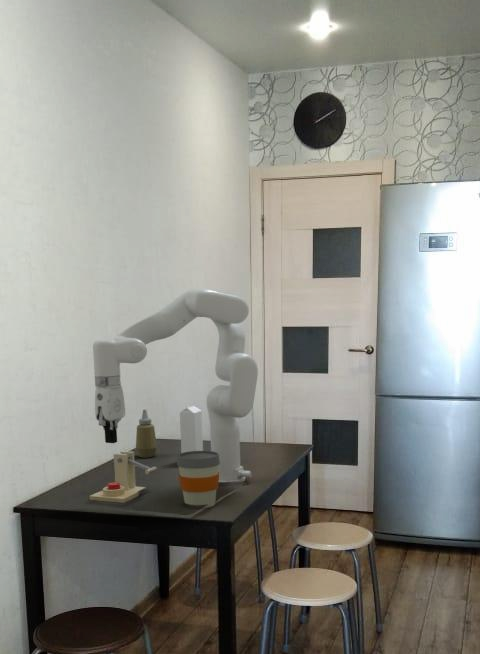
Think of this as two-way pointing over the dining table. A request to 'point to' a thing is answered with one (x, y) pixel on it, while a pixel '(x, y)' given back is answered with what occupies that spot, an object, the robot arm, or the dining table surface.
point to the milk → (191, 429)
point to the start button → (113, 486)
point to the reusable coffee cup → (199, 477)
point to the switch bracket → (125, 471)
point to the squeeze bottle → (145, 437)
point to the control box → (114, 495)
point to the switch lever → (141, 466)
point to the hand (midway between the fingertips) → (111, 442)
